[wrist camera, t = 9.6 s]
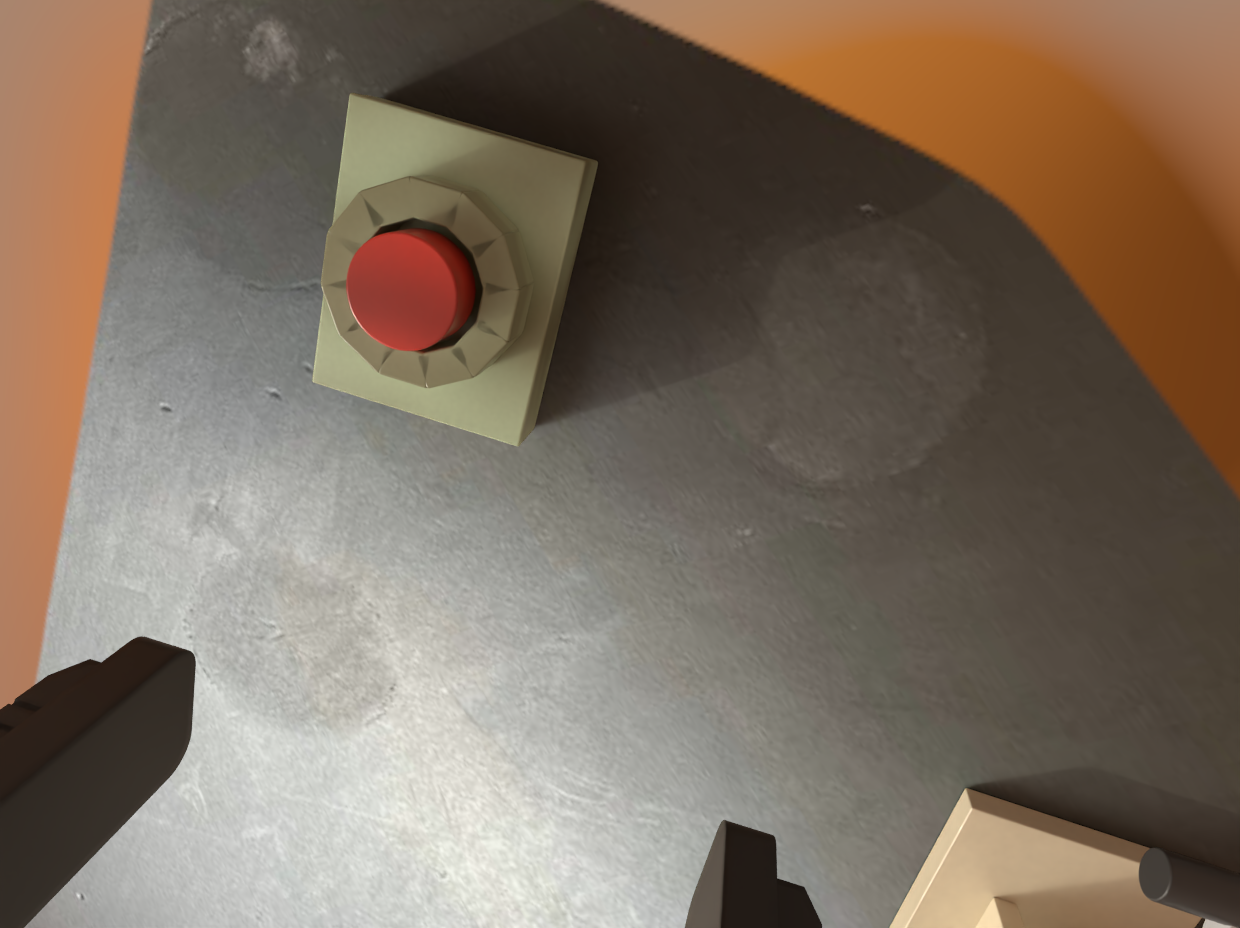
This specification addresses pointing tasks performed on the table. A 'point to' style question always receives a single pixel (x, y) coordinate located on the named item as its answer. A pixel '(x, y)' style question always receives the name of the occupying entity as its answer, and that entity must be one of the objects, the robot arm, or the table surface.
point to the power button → (410, 288)
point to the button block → (490, 240)
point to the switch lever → (1191, 887)
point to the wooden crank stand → (1029, 875)
